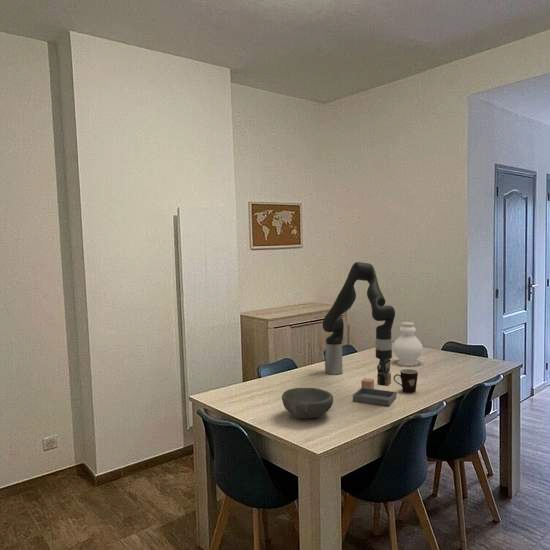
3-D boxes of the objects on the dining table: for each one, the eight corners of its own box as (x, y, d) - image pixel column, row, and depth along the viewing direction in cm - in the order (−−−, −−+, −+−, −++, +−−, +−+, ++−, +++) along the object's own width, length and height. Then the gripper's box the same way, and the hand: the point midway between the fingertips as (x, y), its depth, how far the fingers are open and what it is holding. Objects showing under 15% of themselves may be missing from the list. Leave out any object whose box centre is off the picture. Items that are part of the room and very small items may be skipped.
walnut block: (377, 384, 228) (377, 374, 228) (380, 382, 233) (380, 371, 232) (387, 386, 226) (387, 375, 226) (390, 383, 230) (390, 373, 230)
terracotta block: (361, 390, 247) (361, 380, 247) (364, 387, 252) (364, 378, 251) (371, 391, 245) (370, 381, 244) (374, 388, 249) (373, 379, 249)
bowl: (338, 424, 202) (338, 401, 202) (284, 427, 201) (284, 403, 200) (328, 405, 225) (327, 384, 225) (279, 408, 223) (279, 386, 223)
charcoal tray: (352, 401, 230) (352, 395, 230) (361, 393, 242) (361, 387, 242) (388, 406, 222) (388, 400, 222) (396, 398, 234) (396, 391, 234)
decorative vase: (401, 368, 287) (401, 326, 285) (387, 360, 304) (387, 321, 302) (428, 365, 291) (428, 324, 289) (413, 358, 308) (413, 319, 307)
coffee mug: (418, 389, 247) (418, 369, 246) (417, 394, 239) (417, 374, 238) (394, 387, 251) (394, 368, 250) (393, 392, 243) (393, 372, 242)
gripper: (380, 344, 236) (380, 378, 237) (371, 350, 224) (371, 386, 225) (395, 345, 233) (395, 380, 234) (387, 351, 220) (387, 388, 221)
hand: (384, 383), depth 229 cm, fingers closed on walnut block, 5 cm apart
